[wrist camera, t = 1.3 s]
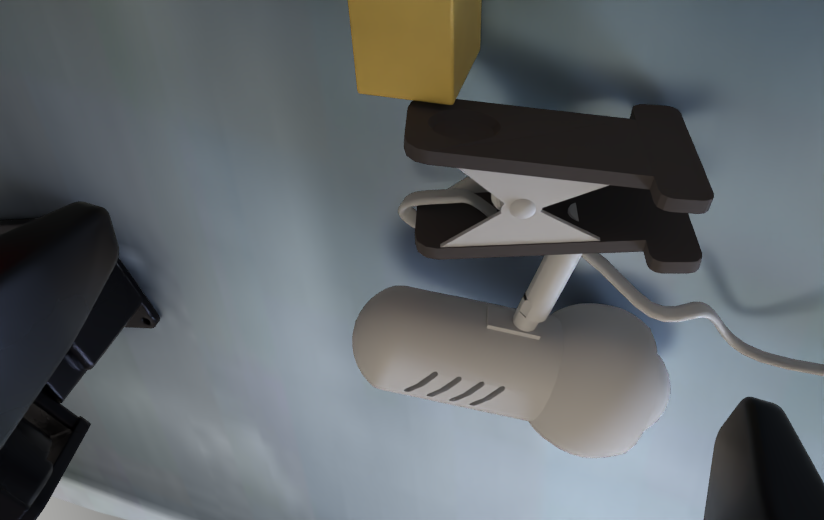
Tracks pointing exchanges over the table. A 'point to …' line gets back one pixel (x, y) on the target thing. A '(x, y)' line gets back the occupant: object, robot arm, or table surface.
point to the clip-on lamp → (546, 269)
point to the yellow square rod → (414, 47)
